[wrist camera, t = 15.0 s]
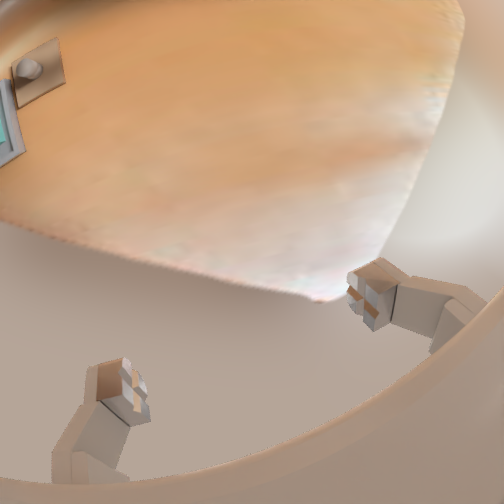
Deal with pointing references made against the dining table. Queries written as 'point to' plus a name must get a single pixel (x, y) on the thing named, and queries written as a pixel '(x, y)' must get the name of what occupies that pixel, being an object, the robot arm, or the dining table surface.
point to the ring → (1, 134)
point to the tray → (9, 125)
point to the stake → (38, 72)
